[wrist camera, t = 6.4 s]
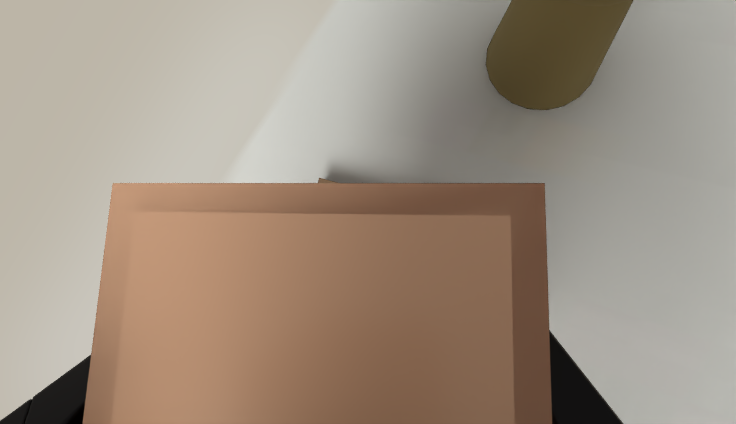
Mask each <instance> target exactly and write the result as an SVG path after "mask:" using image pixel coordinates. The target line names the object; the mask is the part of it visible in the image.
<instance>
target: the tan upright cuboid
mask: <svg viewBox="0 0 736 424" xmlns="http://www.w3.org/2000/svg"><path fill="white" fill-rule="evenodd" d="M83 424H552V403H551V371H550V339H549V307H548V275H547V244H546V212H545V183H113V185H112V193H111V202H110V209H109V217H108V226H107V234H106V241H105V249H104V258H103V265H102V273H101V281H100V289H99V297H98V305H97V313H96V321H95V329H94V337H93V345H92V353H91V361H90V369H89V377H88V384H87V392H86V400H85V408H84V416H83Z"/></svg>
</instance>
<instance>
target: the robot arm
mask: <svg viewBox="0 0 736 424" xmlns="http://www.w3.org/2000/svg"><path fill="white" fill-rule="evenodd" d="M549 339H550V371H551V403H552V424H623V423H622V421H621V420H620V419H619V418H618V416H617V415H616V414H615V413H614V411H613V410H612V409H611V407H610V406H609V405H608V404H607V402H606V401H605V400H604V399H603V397H602V396H601V395H600V394H599V392H598V391H597V390H596V389H595V387H594V386H593V385H592V383H591V382H590V381H589V380H588V378H587V377H586V376H585V375H584V373H583V372H582V371H581V370H580V368H579V367H578V366H577V364H576V363H575V362H574V361H573V359H572V358H571V357H570V356H569V354H568V353H567V352H566V351H565V349H564V348H563V347H562V346H561V344H560V343H559V342H558V340H557V339H556V338H555V337H554V335H553V334H552V333H551V332H550V330H549ZM90 361H91V355H90V356H88V357H87V358H86V359H84V360H83V361H82V362H80V363H79V364H78V365H76V366H75V367H73V368H72V369H71V370H69V371H68V372H67V373H65V374H64V375H63V376H61V377H60V378H58V379H57V380H56V381H54V382H53V383H52V384H50V385H49V386H47V387H46V388H45V389H43V390H42V391H41V392H39V393H38V394H37V395H35V396H34V397H33V399H30V400H28V401H27V402H25V403H24V404H23V405H22V406H20V407H19V408H17V409H16V410H15V411H13V412H12V413H11V414H9V415H8V416H6V417H5V418H4V419H2V420H1V421H0V424H83V416H84V408H85V400H86V392H87V384H88V377H89V369H90Z"/></svg>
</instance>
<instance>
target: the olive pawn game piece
mask: <svg viewBox="0 0 736 424" xmlns="http://www.w3.org/2000/svg"><path fill="white" fill-rule="evenodd" d="M632 2H633V0H512V1H511V3H510V5H509V7H508V9H507V11H506V13H505V15H504V16H503V18H502V20H501V22H500V24H499V26H498V28H497V30H496V32H495V34H494V35H493V38H492V40H491V42H490V44H489V47H488V49H487V58H486V67H487V71H488V75H489V78H490V81H491V82H492V84H493V85H494V87H495V88H496V89H497V91H498V92H499V93H500V94H501V95H502V96H504V97H505V98H506V99H507V100H509V101H510V102H511V103H513V104H516V105H519V106H522V107H524V108H527V109H538V110H548V109H553V108H557V107H561V106H564V105H566V104H568V103H570V102H571V101H573V100H575V99H577V98H578V97H580V96H581V94H582V93H583V92H584V91H585V90H586V89H587V88H588V87H589V86H590V84H591V83H592V81H593V79H594V77H595V75H596V73H597V71H598V69H599V67H600V65H601V63H602V61H603V59H604V57H605V55H606V53H607V51H608V49H609V47H610V45H611V43H612V41H613V39H614V37H615V35H616V33H617V31H618V29H619V27H620V25H621V23H622V22H623V20H624V18H625V16H626V14H627V12H628V10H629V8H630V6H631V4H632Z"/></svg>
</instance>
